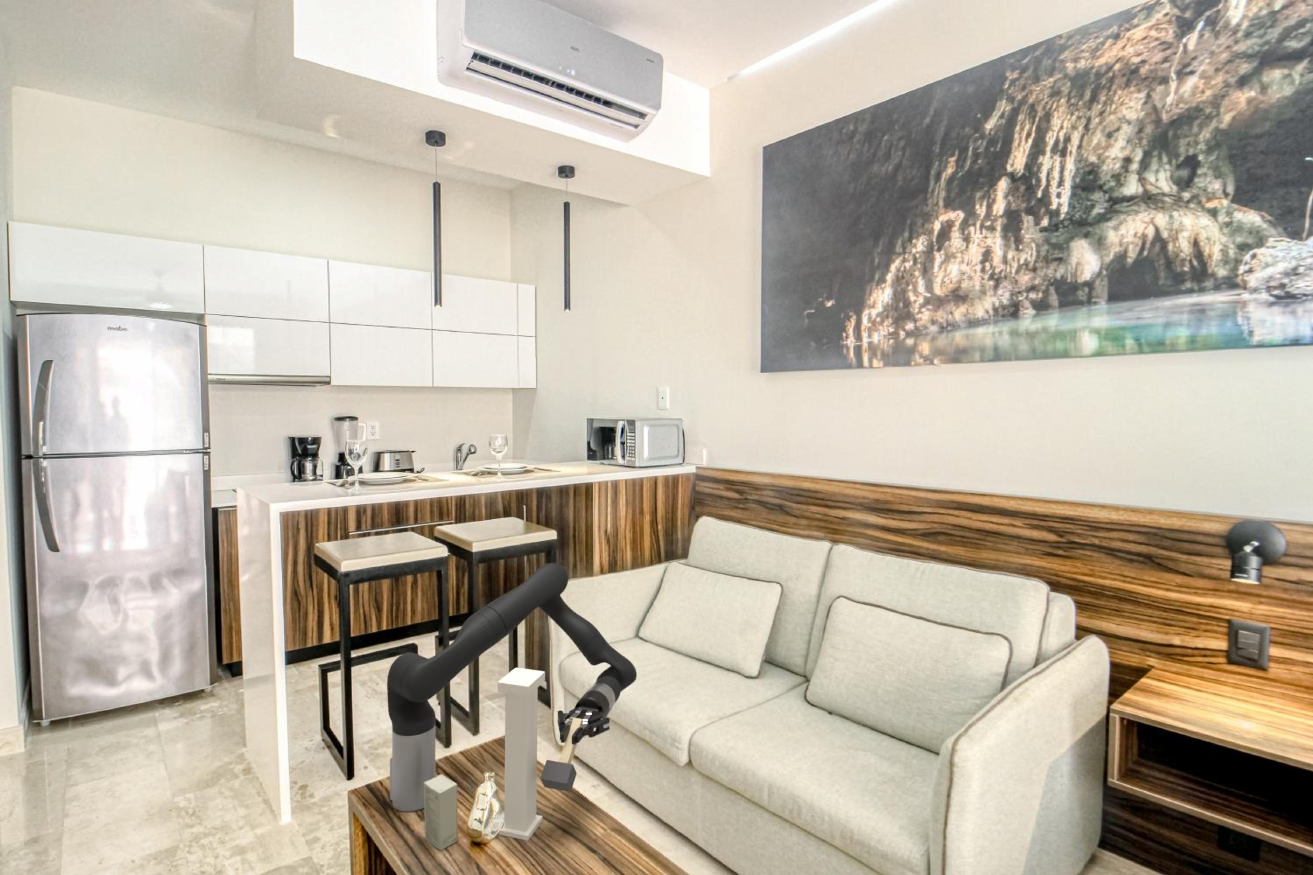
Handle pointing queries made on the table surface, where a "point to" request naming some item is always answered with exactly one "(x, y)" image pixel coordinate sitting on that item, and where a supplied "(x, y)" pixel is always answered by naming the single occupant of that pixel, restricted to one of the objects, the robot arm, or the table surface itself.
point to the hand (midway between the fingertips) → (567, 739)
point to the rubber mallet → (562, 765)
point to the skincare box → (441, 811)
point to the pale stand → (521, 752)
